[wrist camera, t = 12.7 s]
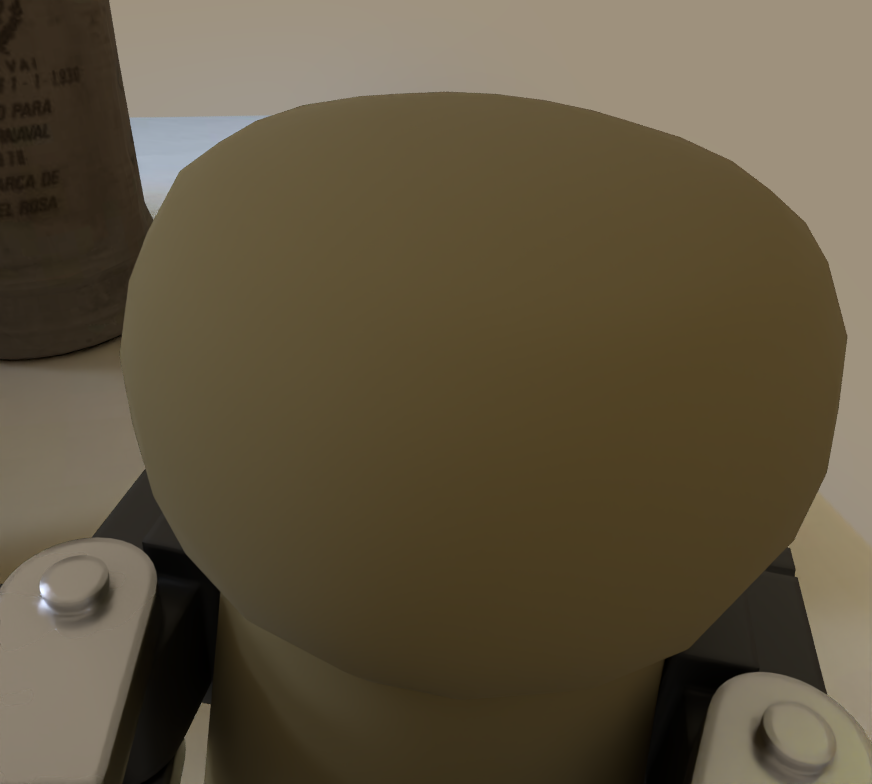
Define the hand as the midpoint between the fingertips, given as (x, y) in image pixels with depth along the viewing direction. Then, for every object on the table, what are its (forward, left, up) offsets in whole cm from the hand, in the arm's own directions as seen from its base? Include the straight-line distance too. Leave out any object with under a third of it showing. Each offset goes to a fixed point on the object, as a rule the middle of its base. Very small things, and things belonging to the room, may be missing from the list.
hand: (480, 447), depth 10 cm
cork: (+2, -2, -6) cm, 7 cm away
